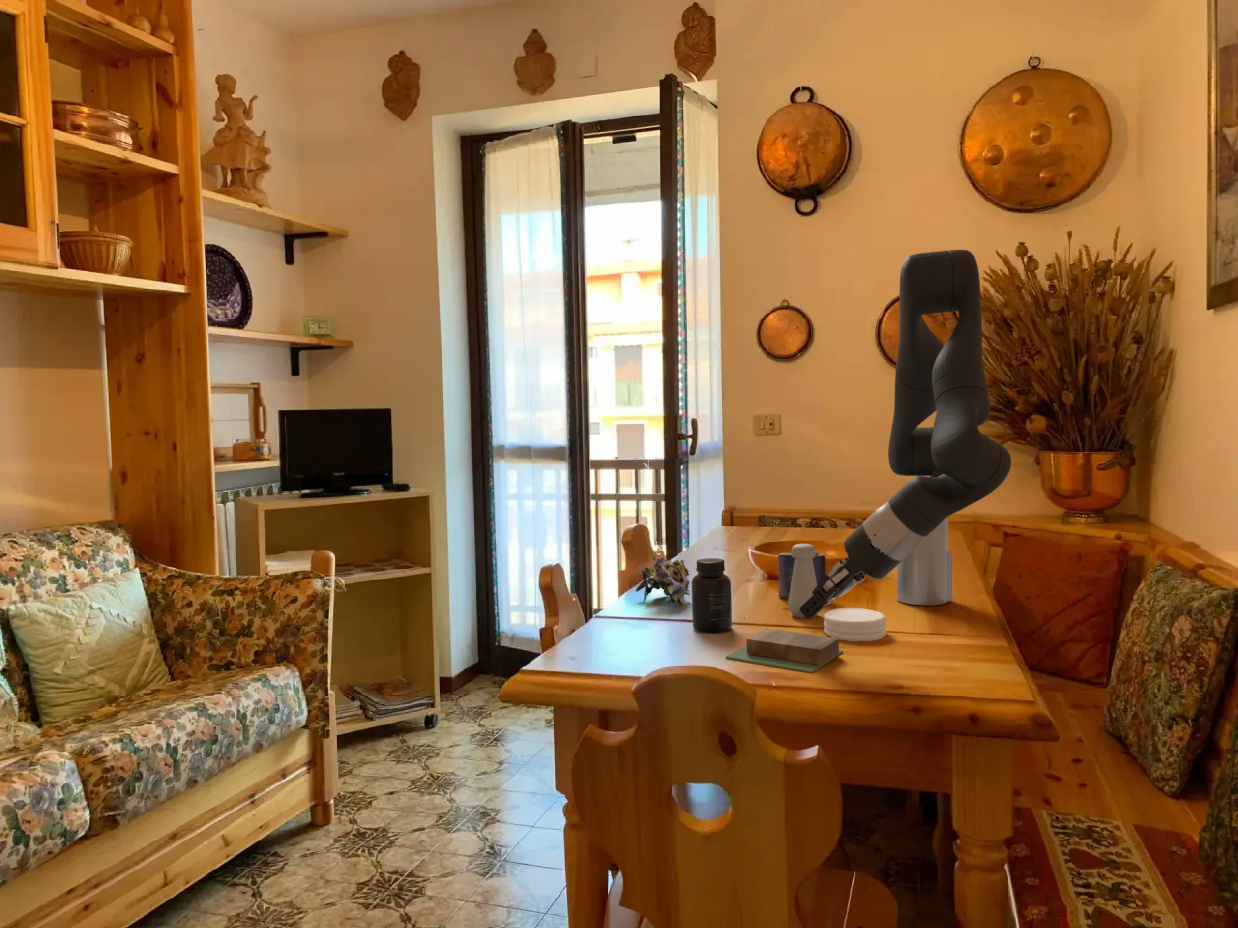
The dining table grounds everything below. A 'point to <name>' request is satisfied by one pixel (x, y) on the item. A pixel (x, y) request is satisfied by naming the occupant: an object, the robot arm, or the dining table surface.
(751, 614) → the dining table surface
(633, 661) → the dining table surface
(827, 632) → the coaster
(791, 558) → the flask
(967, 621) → the dining table surface
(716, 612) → the supplement bottle
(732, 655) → the felt mat
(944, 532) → the robot arm
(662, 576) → the passion flower
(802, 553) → the salt shaker
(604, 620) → the dining table surface
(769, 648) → the wooden block
